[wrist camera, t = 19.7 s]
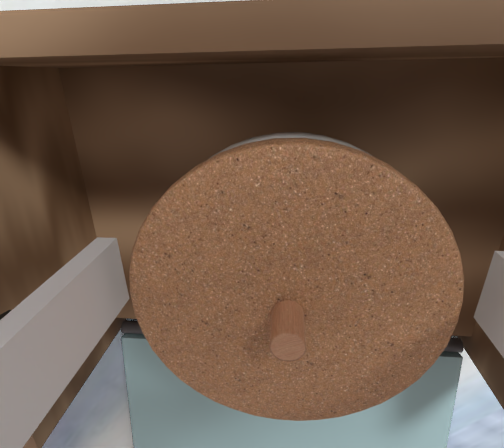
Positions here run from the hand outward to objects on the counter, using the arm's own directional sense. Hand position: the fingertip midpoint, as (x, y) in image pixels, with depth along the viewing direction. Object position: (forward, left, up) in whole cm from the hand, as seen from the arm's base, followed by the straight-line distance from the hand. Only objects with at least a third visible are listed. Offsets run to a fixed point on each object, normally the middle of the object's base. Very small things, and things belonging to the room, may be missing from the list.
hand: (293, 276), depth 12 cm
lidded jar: (0, 0, -6) cm, 6 cm away
